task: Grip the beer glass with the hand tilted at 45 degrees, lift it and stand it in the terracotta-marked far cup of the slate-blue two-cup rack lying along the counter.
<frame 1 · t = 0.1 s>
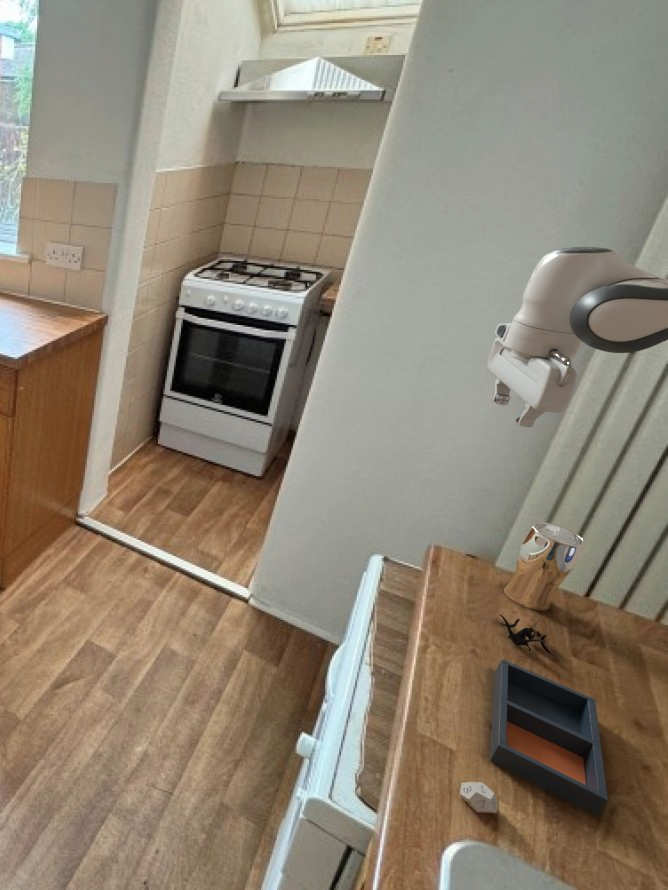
hand: (510, 413, 107), 33 cm above the countertop, tool pointing down, fingers open, 8 cm apart
glass rack: (538, 739, 85), on the countertop
game die: (473, 806, 76), on the countertop
creature: (522, 644, 101), on the countertop
beer glass: (524, 601, 110), on the countertop
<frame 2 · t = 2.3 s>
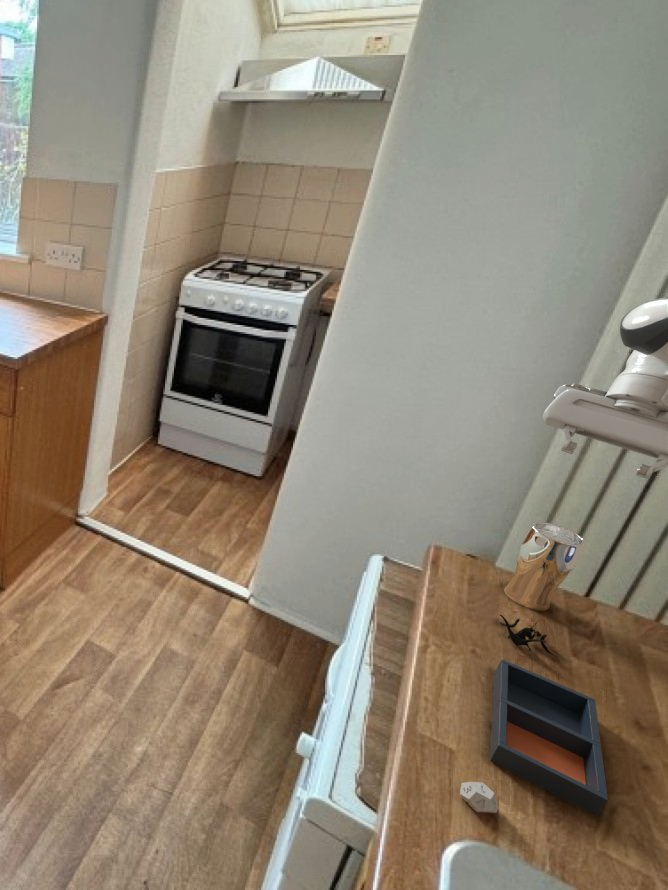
hand: (603, 463, 106), 25 cm above the countertop, tool tilted 45°, fingers open, 8 cm apart
nothing on the countertop moved.
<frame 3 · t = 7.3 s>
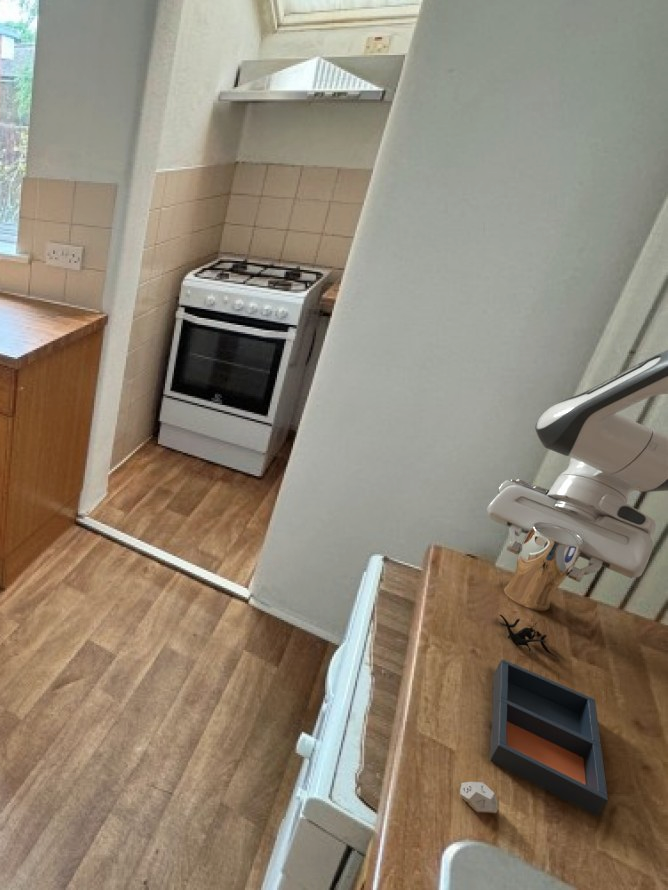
hand: (542, 565, 106), 8 cm above the countertop, tool tilted 45°, fingers closed on beer glass, 7 cm apart
beer glass: (524, 601, 110), on the countertop, touching gripper
everything else where it was.
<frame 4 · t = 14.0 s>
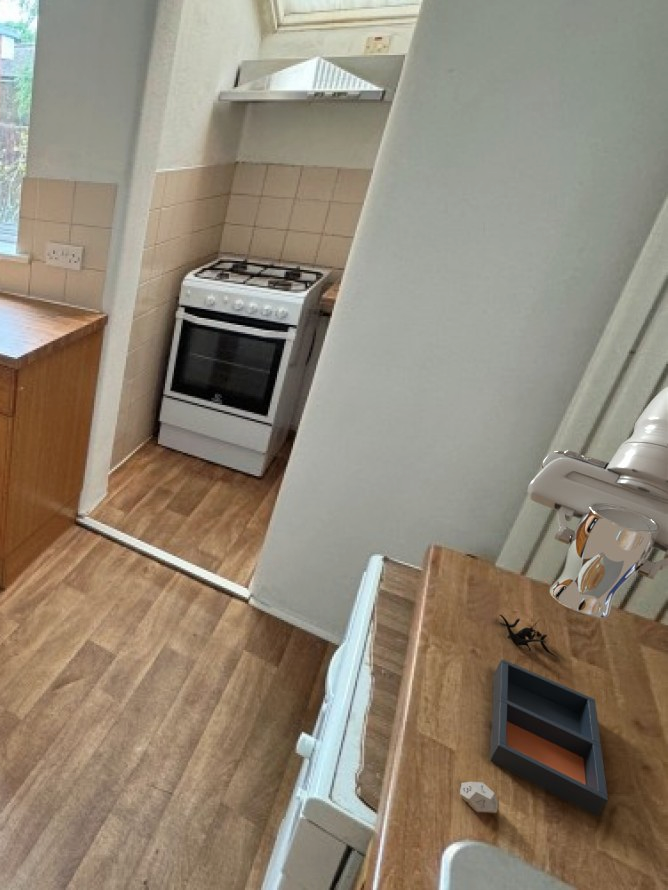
hand: (602, 557, 83), 25 cm above the countertop, tool tilted 45°, fingers closed on beer glass, 7 cm apart
beer glass: (577, 603, 86), point 17 cm above the countertop, touching gripper
everything else where it was.
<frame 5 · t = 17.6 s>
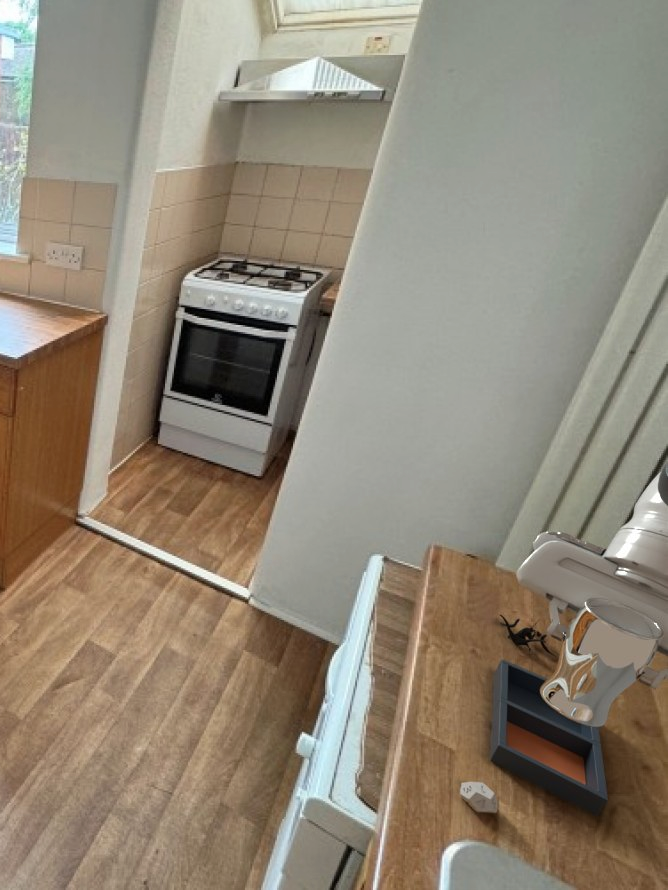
hand: (598, 660, 74), 19 cm above the countertop, tool tilted 45°, fingers closed on beer glass, 7 cm apart
beer glass: (570, 706, 78), point 11 cm above the countertop, touching gripper
everything else where it was.
when the fingers open (9 cm above the countertop, at t = 20.9 s): beer glass stays where it is, resting on glass rack.
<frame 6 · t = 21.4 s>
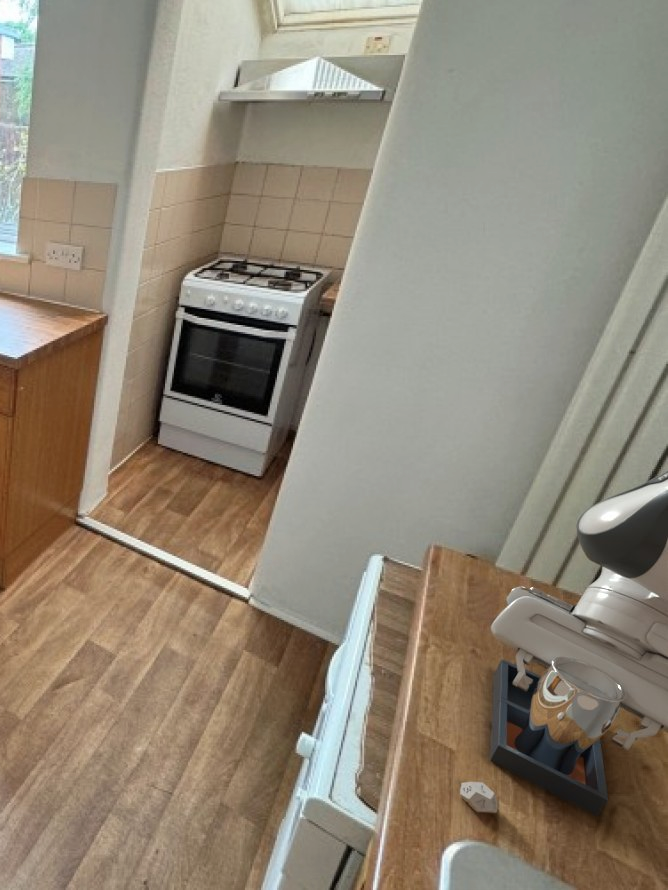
hand: (566, 715, 78), 10 cm above the countertop, tool tilted 45°, fingers open, 8 cm apart
beer glass: (540, 759, 81), point 1 cm above the countertop, touching glass rack
everything else where it was.
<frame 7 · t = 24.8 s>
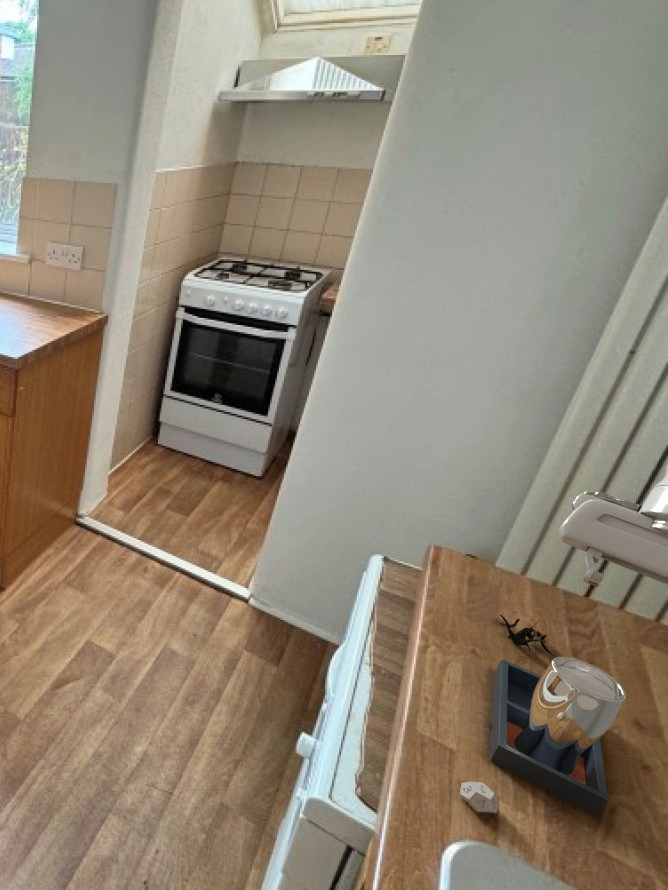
hand: (639, 604, 82), 20 cm above the countertop, tool tilted 45°, fingers open, 8 cm apart
nothing on the countertop moved.
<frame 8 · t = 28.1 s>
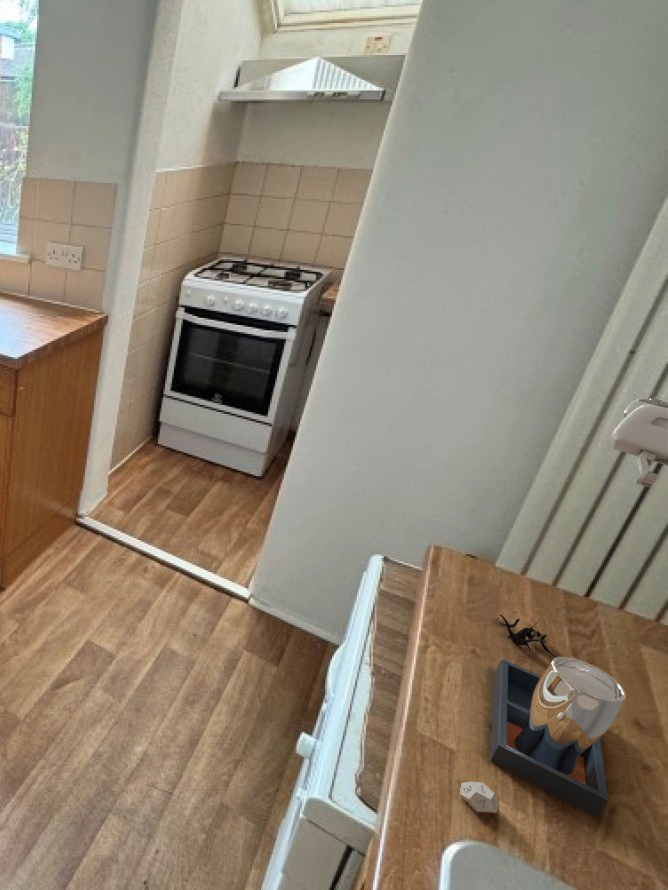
nothing on the countertop moved.
at the end: beer glass 0.1 cm from the target spot in the glass rack, point 0.6 cm above the glass rack's base; beer glass tilted 0°; the gripper is holding nothing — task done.
